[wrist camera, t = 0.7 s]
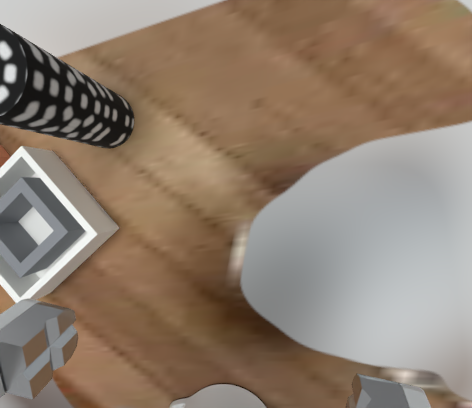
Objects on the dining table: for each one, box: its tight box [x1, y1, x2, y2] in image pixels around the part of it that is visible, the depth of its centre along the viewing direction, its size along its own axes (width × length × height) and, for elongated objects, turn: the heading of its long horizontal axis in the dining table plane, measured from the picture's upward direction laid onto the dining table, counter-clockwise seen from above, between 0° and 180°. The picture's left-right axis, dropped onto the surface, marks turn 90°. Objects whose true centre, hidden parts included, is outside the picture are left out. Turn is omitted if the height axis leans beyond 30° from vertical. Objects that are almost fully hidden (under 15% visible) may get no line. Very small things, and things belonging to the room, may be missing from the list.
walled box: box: [0, 146, 119, 303], centre depth 45 cm, size 16×16×6 cm
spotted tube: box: [0, 24, 134, 148], centre depth 36 cm, size 8×8×20 cm
